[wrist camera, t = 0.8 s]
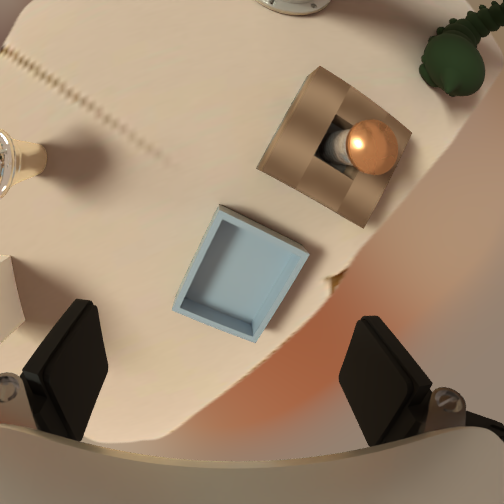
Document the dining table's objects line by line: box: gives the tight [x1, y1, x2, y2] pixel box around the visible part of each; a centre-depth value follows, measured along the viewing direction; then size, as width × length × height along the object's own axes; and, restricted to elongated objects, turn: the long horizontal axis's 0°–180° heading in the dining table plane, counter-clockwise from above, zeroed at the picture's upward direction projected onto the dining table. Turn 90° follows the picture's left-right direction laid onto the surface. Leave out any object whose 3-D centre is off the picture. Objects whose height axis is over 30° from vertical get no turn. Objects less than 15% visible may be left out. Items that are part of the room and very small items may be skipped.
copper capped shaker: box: [318, 119, 398, 175], centre depth 29 cm, size 5×5×11 cm
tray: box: [172, 204, 310, 343], centre depth 37 cm, size 14×12×4 cm
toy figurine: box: [419, 0, 504, 97], centre depth 23 cm, size 9×19×25 cm
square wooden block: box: [256, 66, 412, 229], centre depth 33 cm, size 14×14×5 cm
